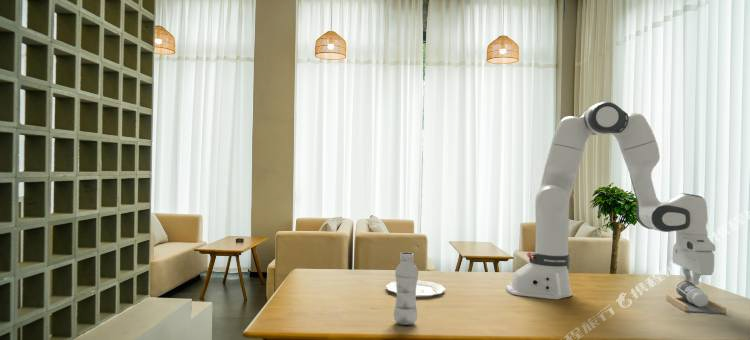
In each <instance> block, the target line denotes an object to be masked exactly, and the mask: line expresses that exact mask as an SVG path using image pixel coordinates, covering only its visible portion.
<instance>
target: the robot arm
mask: <svg viewBox="0 0 750 340" xmlns="http://www.w3.org/2000/svg"><path fill="white" fill-rule="evenodd" d="M608 134H611V135H613V136H614V138H615V139H616V141H617V143H618V145H619V149H620V152H621V155H622V157H623V159H624V163H625V164H626V168H627V171H628V174H629V176H630V181H631V185H632V188H633V193H634V196H635V199H636V209H635V211H636V212H635V216H636V220H637V222H638V223H639V224H640V226H642V227H643V228H645V229H648V230H655V231H658V232H662V233H670V232H675V243H674V244H673V246H672V257H671V259H672V262H673V264H674V265H677V266H679V267H681V269H682V274H683V277H684V278H683V281H689V282H691V283H692V284H694V285H695V286H699V285H700V282H699V281H700V279H701V276H712V275H713V273H714V272H715V271H714V270H715V254H714V252H716V245H715V243H713V242H712V241H711V240H710V239H709V238H708V236H709V235H708V230H707V224H708V222H709V221H708V219H709V218H708V206H707V201H706V199H705V198H704V197H702V196H700V195H696V194H692V193H691V194H690V193H679V194H677V196H675V197H673V198H671V199H670V200H666V201H663V202H661V201H660V200H659V199H658V197H657V193H656V190H655V188H654V184H653V179H652V172H653V170H654V168H655V167H656V166H657V164H658V163H659V161H660V149H659V145H658V141H657V140H656V137H655V135H654V132H653V129H652V127H651V125H650V124H649V121H647V119H646V118H645V116H644V115H643V114H641V113H636V112H633V113H632V112H631V113H627V112H626V111H624V110H623V109H622V108H621V107H620V106H619V105H617V104H616V103H615V102H611V101H600V102H596V103H594V104H592V105H590V106H589V107H587V109H585V110H584V111H582V113H581V114H580V115H579V116H573V115H572V116H571V115H569V116H564V117H563V118H562V119H561V120H560V121H559V123H558V125H557V127H556V129H555V131H554V134H553V137H552V140H551V143H550V148H549V151H548V154H547V158H546V162H545V165H544V170H543V174H542V178H541V182H540V187H539V190H538V191H537V193H536V195H535V206H534V207H535V251H534V252H532V251H527V252H526V256H527V258H529V259H528V261H529V262H528V263H526V264H525V265H523V266H521V267H520V268H519V269H516V270H515V272H514V274H513V277H512V281H511V282H509V283H507V284H506V286H505V289H506V291H507V292H508V293H509V294H511V295H515V296H522V297H531V298H540V299H548V300H549V299H551V300H560V299H564V298H568V297H571V296H573V293H572V290H571V289H572V288H571V284H570V278H569V269H570V254H569V231H570V230H569V225H570V224H569V223H570V221H569V220H570V199H571V196H572V192H573V190H574V185H575V183H576V178H577V176H578V173H579V169H580V165H581V162H582V158H583V154H584V150H585V147H586V142H587V140H588V139H589V137H591V136H592V135H594V136H595V135H597V136H599V135H608ZM691 274H692V275H691Z"/></svg>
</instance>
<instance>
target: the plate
mask: <svg viewBox="0 0 750 340" xmlns="http://www.w3.org/2000/svg"><path fill="white" fill-rule="evenodd" d="M385 288H387V291H390V292H391V293H394V294H396V295H397V286H396V281H391V282H389V283H388V284H386V285H385ZM445 291H446V287H444V286H443V285H442V284H439V283H436V282H433V281H426V280H419V279H417V285H416V298H430V297H434V296H436V295H441V294H442V293H444V292H445Z"/></svg>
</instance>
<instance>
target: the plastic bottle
mask: <svg viewBox="0 0 750 340" xmlns="http://www.w3.org/2000/svg"><path fill="white" fill-rule="evenodd" d="M399 255H400V256H399V260H400V262H399V264H398V265H397V267H396V268H395V271H394V274H395V282H396V286H397V294H396V298H395V306H394V309H393V310H394V311H393V318H394V319H393V320H394V321H395V323H396V324H398V325H401V326H403V325H404V326H409V325H413V324H415V323H416V322H417V320H418V308H417V301H416V300H417V297H416V285H417V280H419V270H418V269H419V268H418V267H417V266H416V264H415V263H414V261H415V258H414V252H408V251H407V252H406V251H405V252H400V254H399Z"/></svg>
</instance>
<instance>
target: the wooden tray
mask: <svg viewBox="0 0 750 340" xmlns="http://www.w3.org/2000/svg"><path fill="white" fill-rule="evenodd" d="M708 299H709V301H708V303H707V304H706V305H705V306H703V307H698V306H696V305H695V304H691V303H690V302H688V301H687V300H686V299H684V298H683V297H682V296H672V295H671V294H666V295H665V300H667V301H666V302H668V301H669V302H668V303H670V304H671V303H672V305H673V306H674V305H675V306H674V307H677V308H678V309H679V310H681V311H682V312H684V313H699V314H715V315H717V314H718V315H727V307H725V306H723V305H721V304H719V303H717V302H716V301H714V300H711V299H710V298H708Z"/></svg>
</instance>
